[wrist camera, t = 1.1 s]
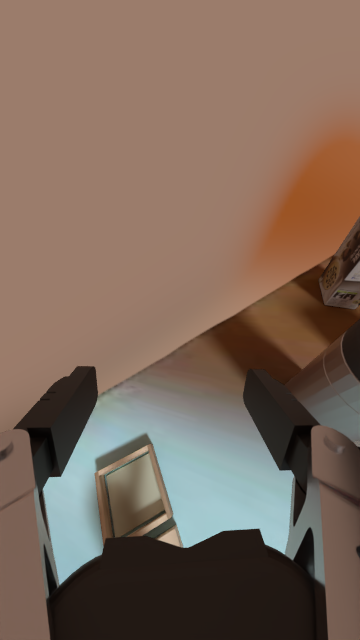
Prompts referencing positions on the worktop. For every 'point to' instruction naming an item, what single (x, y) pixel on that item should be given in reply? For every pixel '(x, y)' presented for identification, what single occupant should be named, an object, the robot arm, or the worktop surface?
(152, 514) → the wooden organizer tray
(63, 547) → the worktop surface
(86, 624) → the robot arm
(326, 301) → the grey food box
